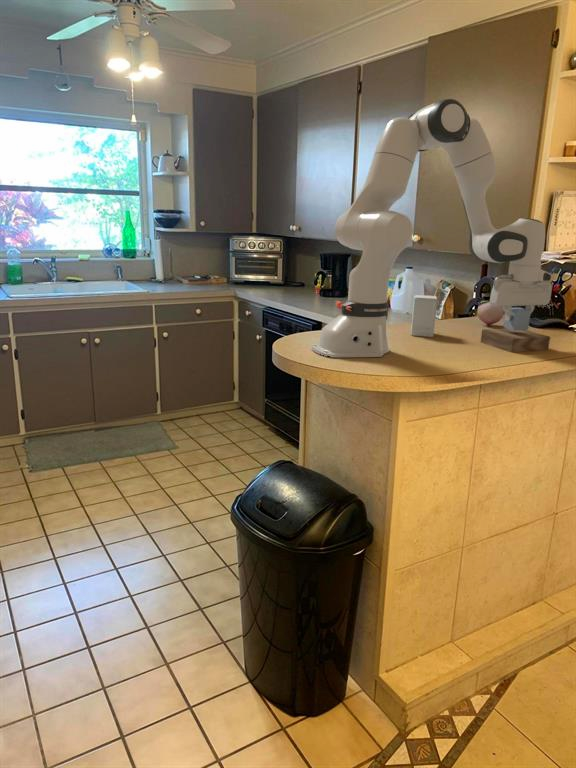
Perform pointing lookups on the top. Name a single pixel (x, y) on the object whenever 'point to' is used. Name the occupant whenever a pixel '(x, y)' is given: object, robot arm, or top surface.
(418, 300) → the supplement box
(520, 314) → the slate block
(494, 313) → the decorative fruit
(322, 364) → the top surface
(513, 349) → the walnut base
